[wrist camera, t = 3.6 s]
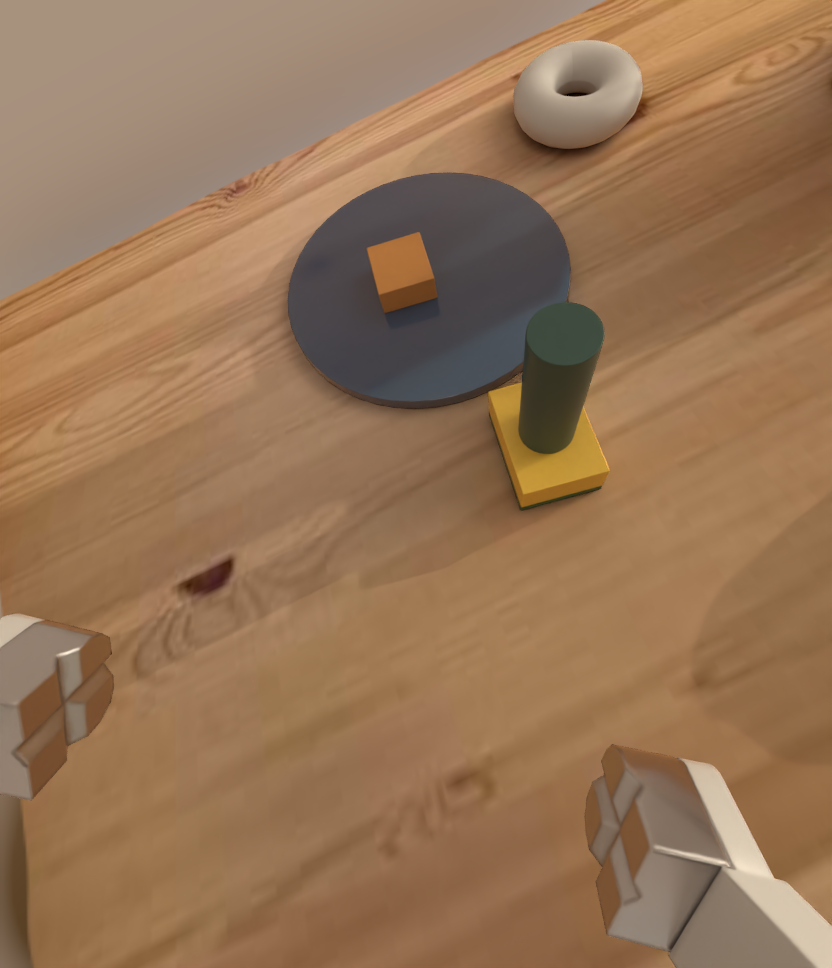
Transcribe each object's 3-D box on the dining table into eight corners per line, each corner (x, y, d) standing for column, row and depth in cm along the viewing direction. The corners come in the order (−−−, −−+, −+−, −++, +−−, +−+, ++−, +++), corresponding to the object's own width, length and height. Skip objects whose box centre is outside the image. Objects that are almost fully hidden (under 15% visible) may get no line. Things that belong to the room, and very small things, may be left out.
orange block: (423, 252, 38) (419, 231, 36) (437, 298, 37) (434, 277, 35) (372, 268, 38) (366, 247, 37) (384, 314, 37) (378, 294, 35)
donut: (548, 178, 40) (662, 124, 40) (551, 136, 37) (675, 77, 37) (492, 108, 44) (596, 59, 44) (491, 65, 41) (603, 11, 41)
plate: (370, 162, 44) (368, 151, 43) (610, 216, 38) (613, 204, 37) (242, 354, 39) (236, 346, 38) (498, 452, 33) (498, 445, 32)
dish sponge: (488, 414, 34) (483, 287, 23) (562, 393, 34) (593, 254, 22) (520, 510, 31) (532, 420, 20) (600, 489, 31) (657, 385, 20)
